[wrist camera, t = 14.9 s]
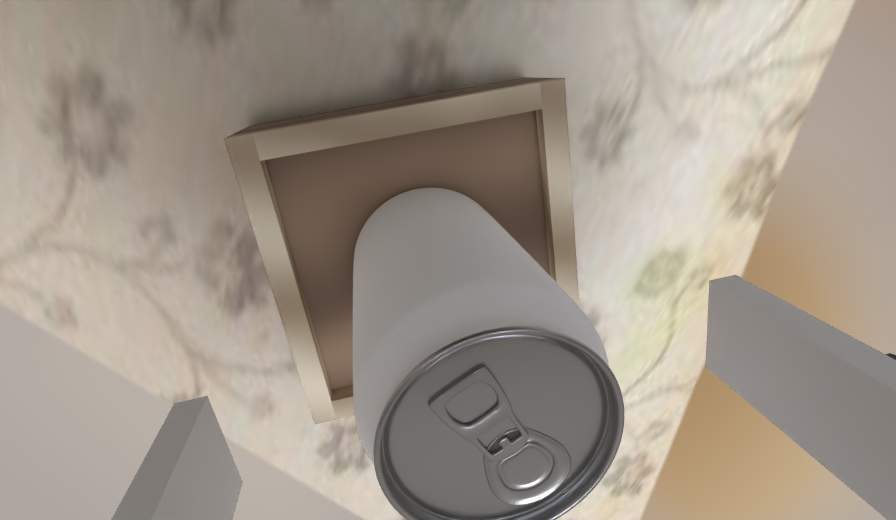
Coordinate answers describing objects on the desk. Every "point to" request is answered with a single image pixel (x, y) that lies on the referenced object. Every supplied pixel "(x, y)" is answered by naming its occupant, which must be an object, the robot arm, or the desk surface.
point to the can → (474, 369)
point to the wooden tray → (385, 176)
